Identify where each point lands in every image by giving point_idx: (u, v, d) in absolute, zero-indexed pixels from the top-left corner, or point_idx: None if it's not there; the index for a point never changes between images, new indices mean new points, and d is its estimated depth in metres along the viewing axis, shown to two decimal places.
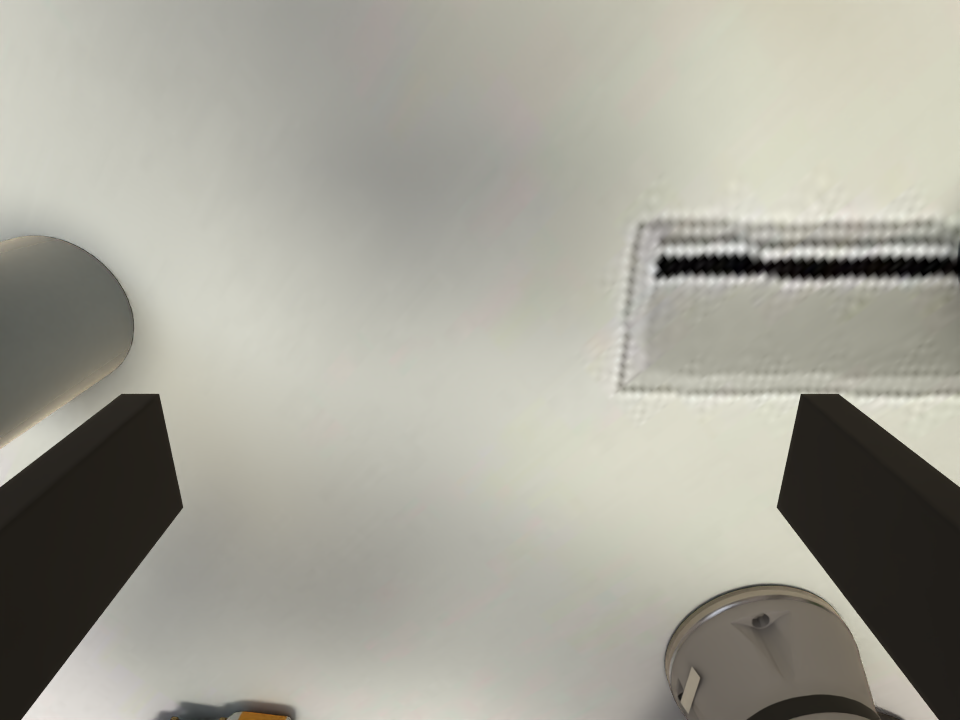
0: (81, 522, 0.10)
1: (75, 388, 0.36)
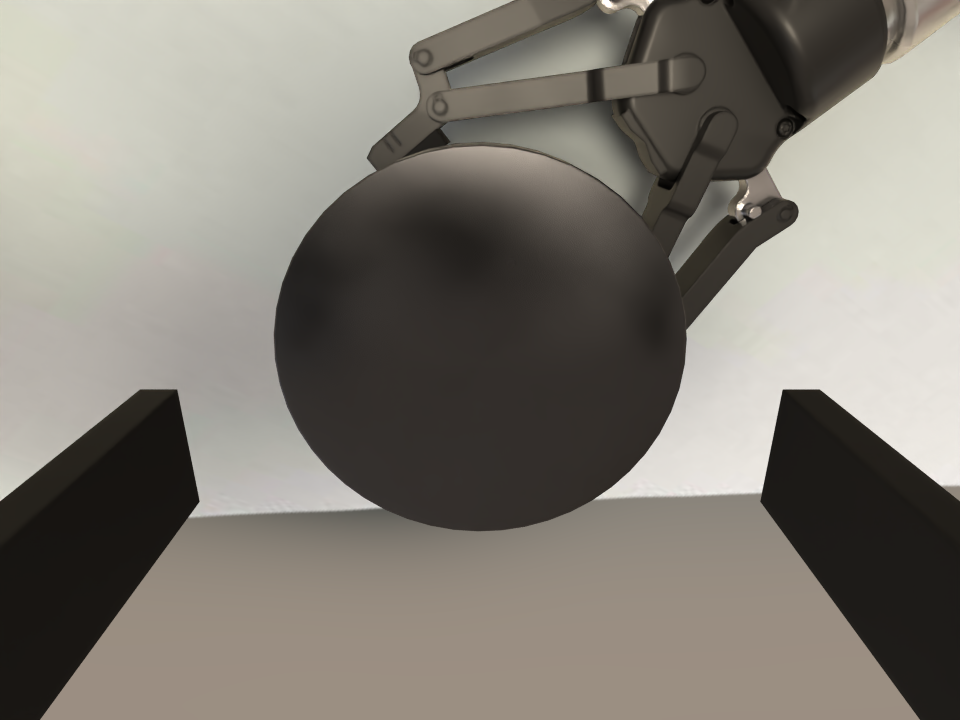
0: (105, 514, 0.10)
1: None
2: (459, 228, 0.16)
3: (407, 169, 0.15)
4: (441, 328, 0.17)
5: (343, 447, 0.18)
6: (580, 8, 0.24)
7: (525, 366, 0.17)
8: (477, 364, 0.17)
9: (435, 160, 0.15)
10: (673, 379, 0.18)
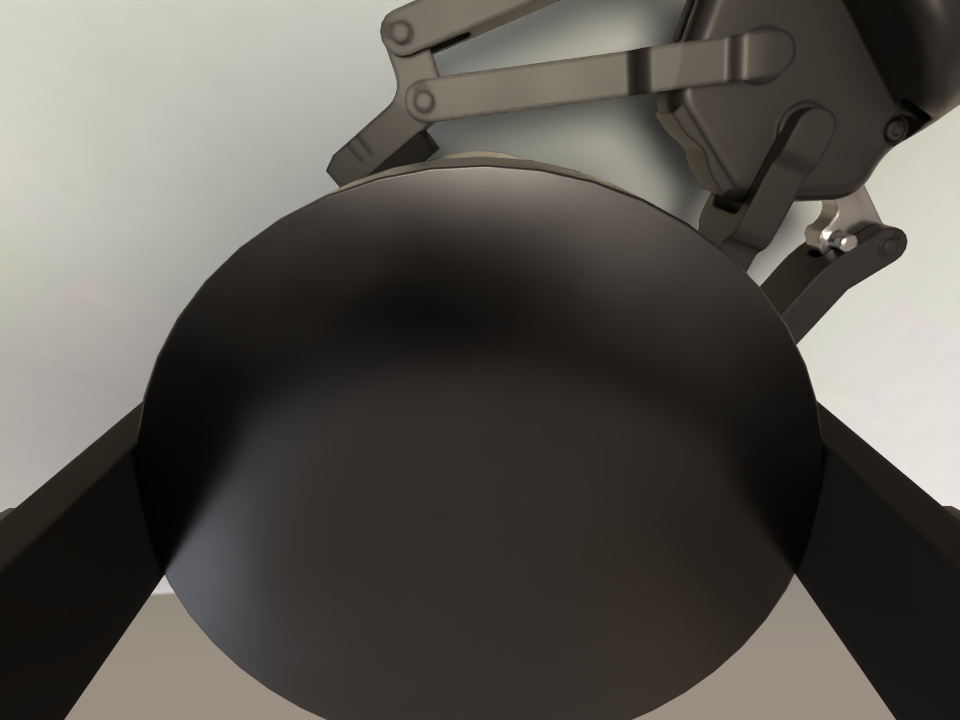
0: (134, 505, 0.10)
1: None
2: (443, 308, 0.09)
3: (349, 208, 0.09)
4: (415, 467, 0.10)
5: (262, 639, 0.12)
6: None
7: (554, 523, 0.11)
8: (475, 521, 0.11)
9: (399, 192, 0.09)
10: (795, 542, 0.11)
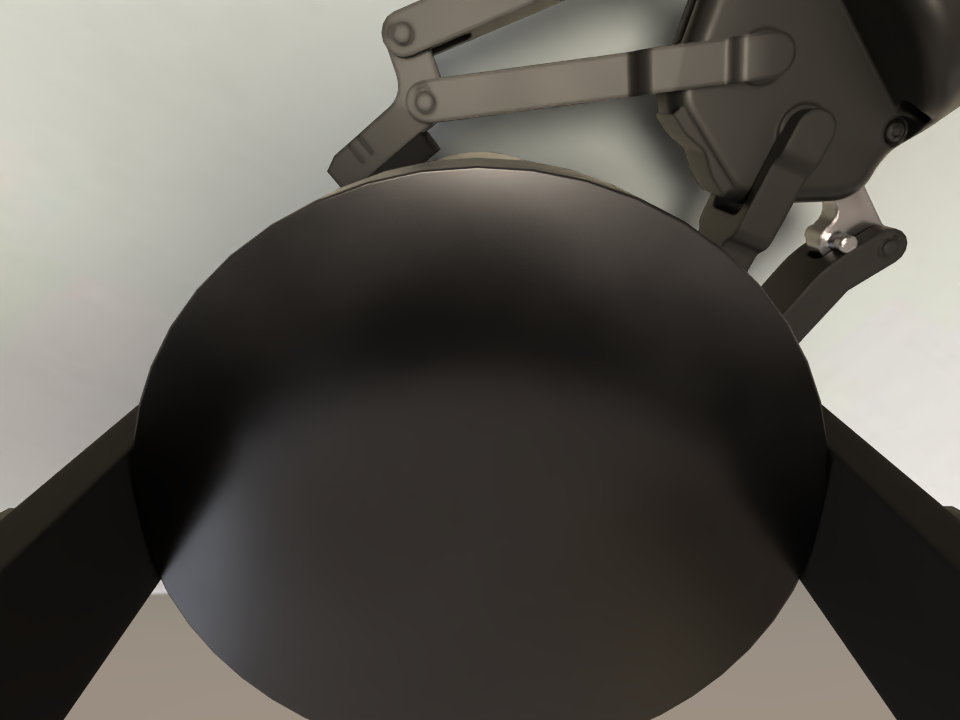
0: (133, 505, 0.10)
1: None
2: (256, 480, 0.10)
3: (152, 514, 0.10)
4: (403, 553, 0.11)
5: None
6: None
7: (516, 464, 0.10)
8: (482, 528, 0.11)
9: (147, 476, 0.10)
10: (659, 228, 0.09)
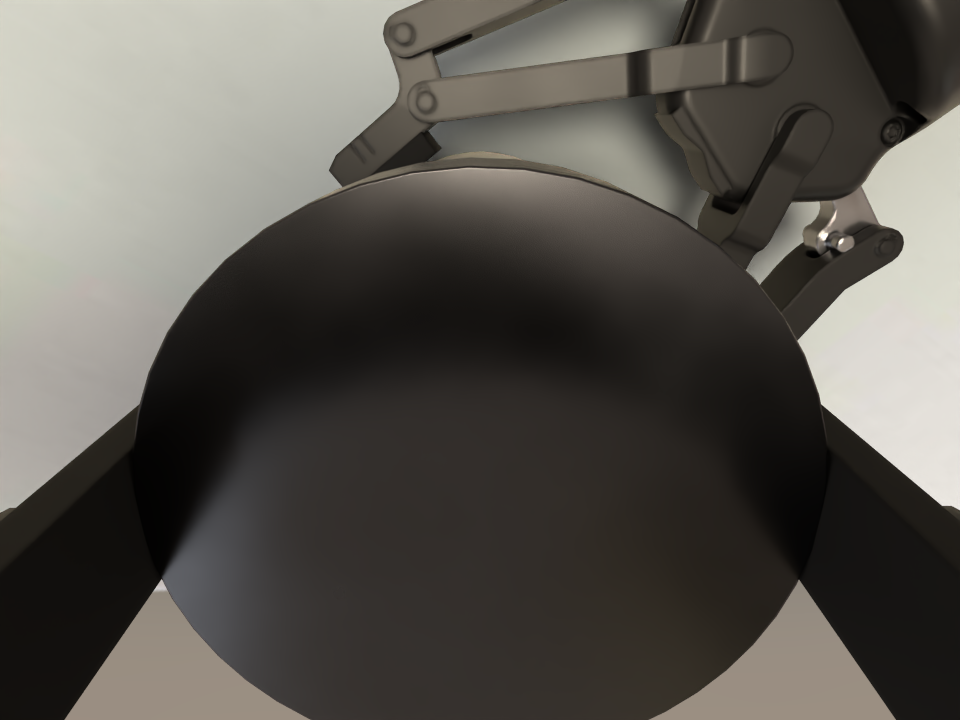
0: (134, 505, 0.10)
1: None
2: (366, 660, 0.12)
3: None
4: (486, 591, 0.11)
5: (759, 558, 0.11)
6: None
7: (428, 473, 0.10)
8: (486, 523, 0.10)
9: None
10: (224, 285, 0.09)
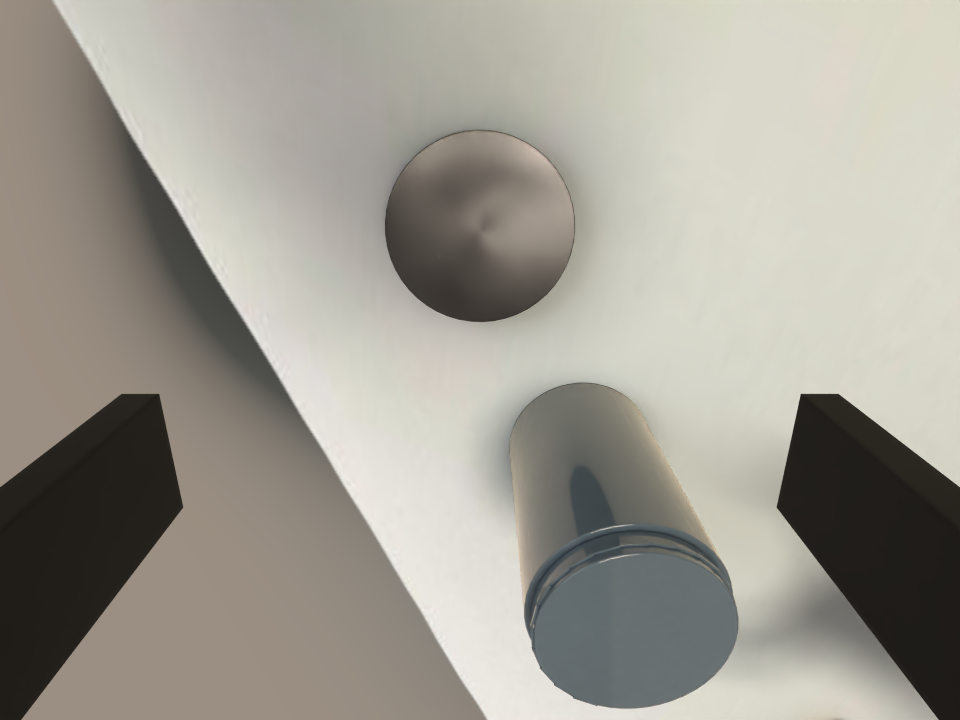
0: (81, 522, 0.10)
1: None
2: (446, 281, 0.39)
3: (445, 311, 0.40)
4: (481, 255, 0.38)
5: (559, 243, 0.38)
6: None
7: (465, 215, 0.37)
8: (481, 231, 0.38)
9: (435, 306, 0.40)
10: (416, 160, 0.36)
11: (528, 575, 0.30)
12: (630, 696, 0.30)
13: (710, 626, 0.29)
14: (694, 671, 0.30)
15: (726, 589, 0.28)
